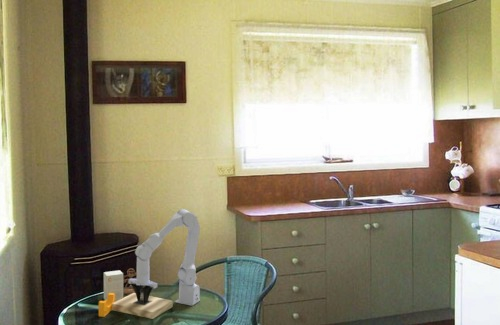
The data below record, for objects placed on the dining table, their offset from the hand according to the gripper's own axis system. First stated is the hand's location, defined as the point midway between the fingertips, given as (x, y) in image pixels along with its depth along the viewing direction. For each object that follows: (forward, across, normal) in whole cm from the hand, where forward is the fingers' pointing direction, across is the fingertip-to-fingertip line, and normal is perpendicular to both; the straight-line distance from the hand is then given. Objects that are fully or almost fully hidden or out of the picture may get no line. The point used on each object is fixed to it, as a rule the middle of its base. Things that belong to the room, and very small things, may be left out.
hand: (142, 300), depth 233 cm
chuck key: (+2, 0, 0) cm, 2 cm away
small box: (+4, -19, +3) cm, 20 cm away
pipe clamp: (+4, -13, -10) cm, 17 cm away
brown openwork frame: (+4, -18, +15) cm, 24 cm away
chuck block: (+3, 0, 0) cm, 3 cm away
